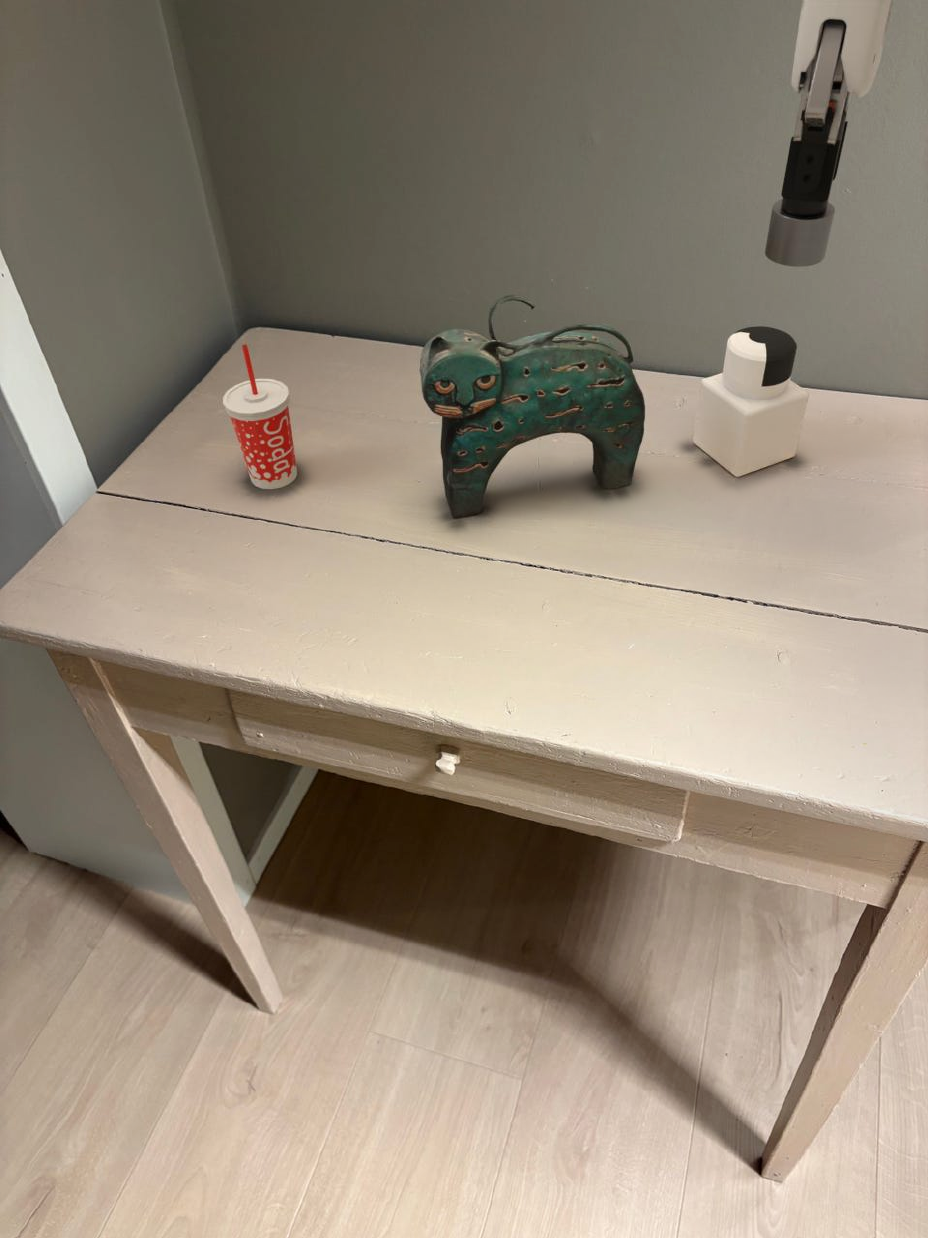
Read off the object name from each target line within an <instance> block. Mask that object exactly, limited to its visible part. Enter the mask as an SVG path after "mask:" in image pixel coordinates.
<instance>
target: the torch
mask: <svg viewBox="0 0 928 1238" xmlns="http://www.w3.org/2000/svg"><path fill="white" fill-rule="evenodd" d="M829 107H833V112H834V107H835V102H829ZM798 112H799V110H798ZM798 112H797V113H798ZM847 113H848V112H847ZM847 113H846V111H845V110H844V109H843V112H842V117H841V122H840V126H839V131H838V135H837V140H841V139H842V134H843V130H844V125H845V121H847ZM797 117H798V115H797ZM797 117H796V118H797ZM796 122H797V120H796ZM796 122H795V123H796ZM795 128H796V126H795V127H794V129H795ZM840 144H841V141H840ZM839 148H840V146H839ZM838 153H839V151H838ZM837 158H838V155H837ZM836 163H837V160H836ZM835 167H836V165H835ZM834 172H835V169H834ZM833 177H834V174H833ZM832 182H834V180H833V179H832ZM832 186H833V183H832V184H831V188H830V193H829V196H828V199H827V200H826V201H825V202H823V203H820V202H809V201H799V200H789V199H784V198H783V197H782V198H781V199H779V200H777V201H775V202H774V203H773V205H772V209H771V214H770V219H769V225H768V232H767V237H766V243H765V249H764V255H765V257H766V258H767V259H768V260H770V261H771V262H773V263H775V264H778V265H781V266H786V267H793V268H795V267H796V268H797V267H798V268H801V267H802V268H804V267H810V266H815V265H818V264H820V263H821V262H822V261H824V259H825V257H826V254H827V250H828V249H827V248H828V244H829V241H830V235H831V230H832V227H833V221H834V218H835V213H836V209H835V207H834V205H833V204H832V203H830V202H829V199H830V195H831V190H832Z"/></svg>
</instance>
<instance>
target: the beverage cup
mask: <svg viewBox="0 0 928 1238" xmlns="http://www.w3.org/2000/svg"><path fill="white" fill-rule="evenodd" d="M241 348H242V353H243V357H244V361H245V366H246V369H247V374H248V380H245V381H242V382H240V383H237V384H235V385H233V386H232V387H231V388H229V389H228V390H227V391H226V392H225V393H224V395H223V397H222V404H223V407H224V408H225V413H227V414H228V416H229V418H230V420H231V424H232V427H233V430H234V432H235V436H236V439H237V442H238V445H239V447H240V451H241V454H242V458H243V459H244V463H245V466H246V469H247V472H248V476H249V479H250V482H251V483H252V484H253V485H254V486H255V487H257V488H259V489H262V490H277V489H281V488H284V487H287V486H288V485H290V484H292V483H293V482H294V481H295V480H296V478H297V476H298V469H297V461H296V453H295V445H294V439H293V432H292V431H293V430H292V423H291V417H290V409H289V404H290V402H291V398H290V392H289V387H288V386H287V385H286V384H285V383H284V382H282V381H279V380H277V379H273V378H255V373H254V370H253V365H252V361H251V357H250V351H249V348H248V344H241Z"/></svg>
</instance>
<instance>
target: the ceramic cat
mask: <svg viewBox="0 0 928 1238" xmlns="http://www.w3.org/2000/svg"><path fill="white" fill-rule="evenodd" d="M510 301H511V302H512V301H514V302H515V301H516V302H521V303H523V304H525V305H527V306H528V307H530V309H531V310H534V308H536V305H534V304H533V302H532V301H530V300H529V299H528V298H527V297H526V296H524V295H520V294H509V295H504V296H502V297H501V298H499V299H497V300H496V301H495V302H494V303H493V304H492V305H491V307H490V309H489V313H488V314H489V315H488V331H489V332H488V333H489V336H490V338H491V340H490V339H487V338H486V337H484V336H483V335H481V334H479V333H477V332H475V331H472V330H470V329H461V328H451V329H448V330H444V331H442V332H440V333H438V334H436V335H435V336H434V337H432V338H430V339H429V340H428V341H427V342H426V343H425V345H424V346H423V348H422V350H421V353H420V360H419V361H420V362H419V374H420V385H421V394H422V398H423V400H424V402H425V404H426V405H427V407H428V408H429V410H430V411H431V412H432V413H433V414H435V415H437V416H439V417H441V430H440V431H441V432H440V444H439V445H440V446H439V447H440V455H441V460H442V480H443V488H444V495H445V498H446V501H447V505H448V508H449V511H450V514H451V517H452V519H457V518H458V519H459V518H464V517H469V516H475V515H479V514H481V513H482V512H483V511H484V506H485V497H486V491H487V487H488V486H489V482H490V479H491V478H492V475H493V473H494V472H495V470H496V469H497V467H498V466H499V465H500V463H501V461H502V460H503V459H504V458H505V456H506V455H507V454H508V453H509V451H511V450H513V449H514V448H515V447H517V446H519V445H522V444H524V443H528V442H530V441H533V440H535V439H538V438H542V437H545V436H550V435H554V434H578V435H581V436H583V437H585V438H586V439H587V440H588V441H590V442H591V445H592V466H591V467H592V468H591V470H592V474H593V476H594V477H595V480H596V481H597V483H598V485H599V486H600V487H602V488H604V489H606V490H607V489H609V490H613V489H614V490H615V489H618V488H622V487H625V486H628V485H630V484H631V483H632V482H633V476H634V473H635V469H636V468H635V467H636V463H637V459H638V456H639V451H640V449H641V444H642V442H643V438H644V434H645V420H646V402H645V397H644V393H643V391H642V389H641V387H640V386H639V384H638V381H637V379H636V376H635V374H634V372H633V371H634V370H633V368H632V366H631V364H632V363H633V362H634V355H633V351H632V348H631V345H630V343H629V341H628V339H626V337H625V336H624V335H623V334H622V333H621V332H620V331H619V330H617V329H615V328H614V327H612V326H611V327H610V326H607V325H602V324H591V323H589V324H588V323H587V324H574V325H568V326H565V327H561V328H560V329H557V330H554V331H549V332H542V333H536V334H532V335H531V334H530V335H528V336H524V337H522V338H519V339H516V340H513V341H510V342H507V343H505V342H503V341H501V340H497V338H496V336H495V332H494V328H493V324H492V318H493V314H494V312H495V311H496V310H497V308H498V307H499V306H500V305H502V304H503V303H507V302H510ZM579 331H589V332H603V333H607V334H610V335H612V336H614V337H615V338H616V339H618V340H619V341H620V342H622V344H623V345H624V346H625V348H626V351H627V356H624V355H623V354H622V353H621V352H620V351H619V349H617V348H616V347H615V346H614V345H613V344H611V342H609V341H607V340H605V339H603V338H602V337H599V336H597V335H595V334H592V333H588V332H579Z"/></svg>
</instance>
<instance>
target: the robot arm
mask: <svg viewBox="0 0 928 1238" xmlns="http://www.w3.org/2000/svg"><path fill="white" fill-rule="evenodd" d="M893 5H894V0H802V2H801V7H800V8H801V9H800V15H799V22H798V27H797V34H796V35H797V36H796V41H795V49H794V57H793V65H792V72H791V82H790V86H791V88H792V89H793V91H794V92H795V93H796V94H798V95H799V94H800V102H799V108H798V111H799V112H797V116H798V117H796V121H797V122H795V127H796V128H795V127H794V133H793V136H792V137H790V144H789V148H788V153H787V159H786V165H785V171H784V176H783V182H782V188H781V191H780V192H781V193H780V194H781V197H782V199H783V198H784V199H789V200H799V201H809V202H820V203H823V202H825V201H826V200H827V199H828V196H829V197H830V195H829V193H830V194H831V191H830V188H831V189H832V186H831V184H832V185H833V181H835V180H836V177H837V174H838V170H839V166H840V160H841V156H842V151H843V147H844V143H845V142H844V141H845V137H846V133H847V127H848V123H849V120H845V125H844V130H843V134H842V139H841V140H837V135H838V131H839V126H840V122H841V117H842V112H843V109H844V110H845V111H846V113H848V109H849V104H850V100H851V96H852V93H856V98H858V99H861V98H863V97H864V96H866V95H867V94H868V93H869V92H870V91H871V89H872V86H873V83H874V80H875V77H876V75H877V72H878V70H879V66H880V63H881V59H882V54H883V51H884V45H885V39H886V35H887V31H888V26H889V23H890V18H891V13H892V9H893ZM829 102H835V107H834V112H833V107H829ZM840 141H841V144H840ZM839 146H840V148H839ZM838 151H839V153H838ZM837 155H838V158H837ZM836 160H837V163H836ZM835 165H836V167H835ZM834 169H835V172H834ZM833 174H834V177H833ZM832 179H833V181H832Z"/></svg>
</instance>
